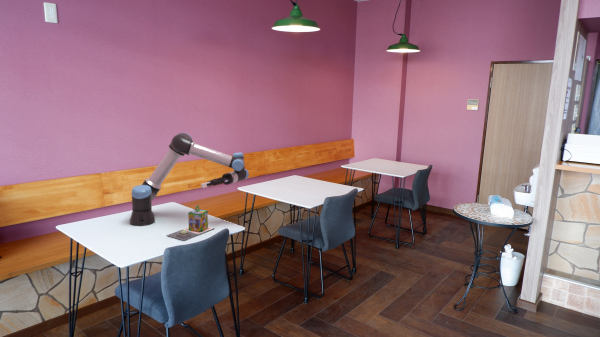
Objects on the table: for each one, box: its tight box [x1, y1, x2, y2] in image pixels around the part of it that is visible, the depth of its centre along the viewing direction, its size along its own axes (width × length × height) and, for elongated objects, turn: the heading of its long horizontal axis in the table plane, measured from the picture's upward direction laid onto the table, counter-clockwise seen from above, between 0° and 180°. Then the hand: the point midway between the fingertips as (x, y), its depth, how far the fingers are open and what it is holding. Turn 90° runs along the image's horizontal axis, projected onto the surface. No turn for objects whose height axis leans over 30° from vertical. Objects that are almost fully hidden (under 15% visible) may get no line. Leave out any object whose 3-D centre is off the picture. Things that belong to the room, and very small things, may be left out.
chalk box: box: [188, 204, 209, 232], centre depth 243 cm, size 9×9×15 cm
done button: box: [179, 229, 187, 235], centre depth 232 cm, size 4×4×2 cm
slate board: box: [166, 226, 215, 242], centre depth 240 cm, size 14×26×2 cm, turn 151°
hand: (201, 186), depth 245 cm, fingers closed
